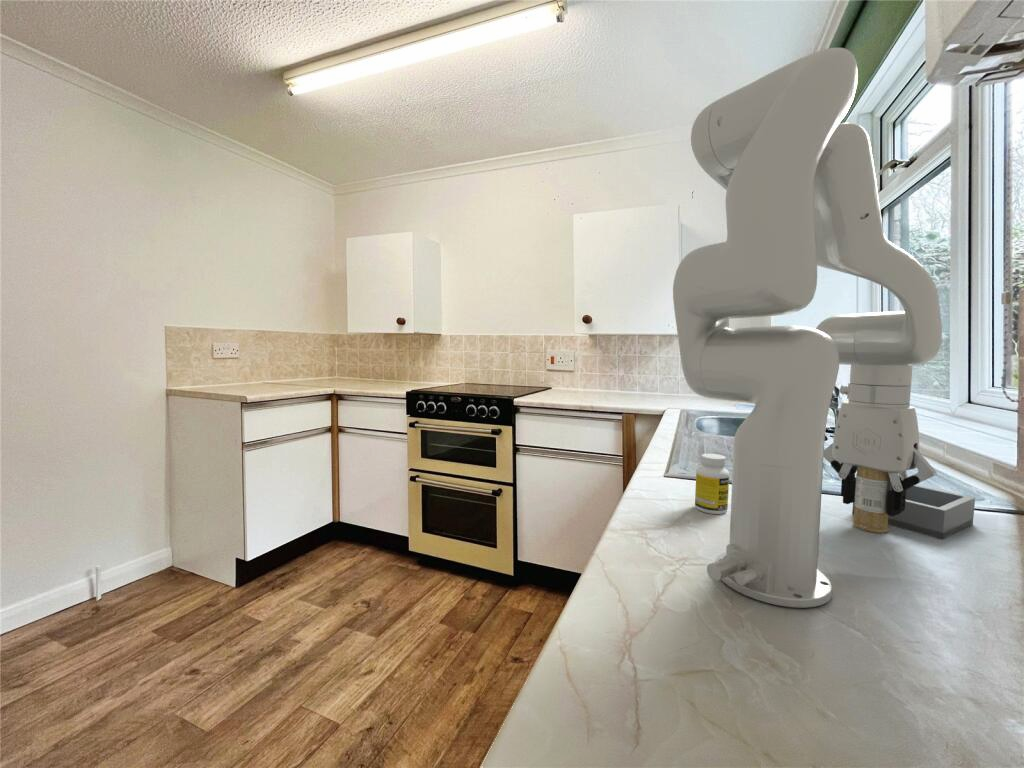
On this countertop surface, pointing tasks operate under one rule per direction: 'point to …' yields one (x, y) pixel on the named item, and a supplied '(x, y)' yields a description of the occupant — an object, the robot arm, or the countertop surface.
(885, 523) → the sprinkles bottle
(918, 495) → the charcoal bin
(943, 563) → the countertop surface
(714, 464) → the supplement bottle
